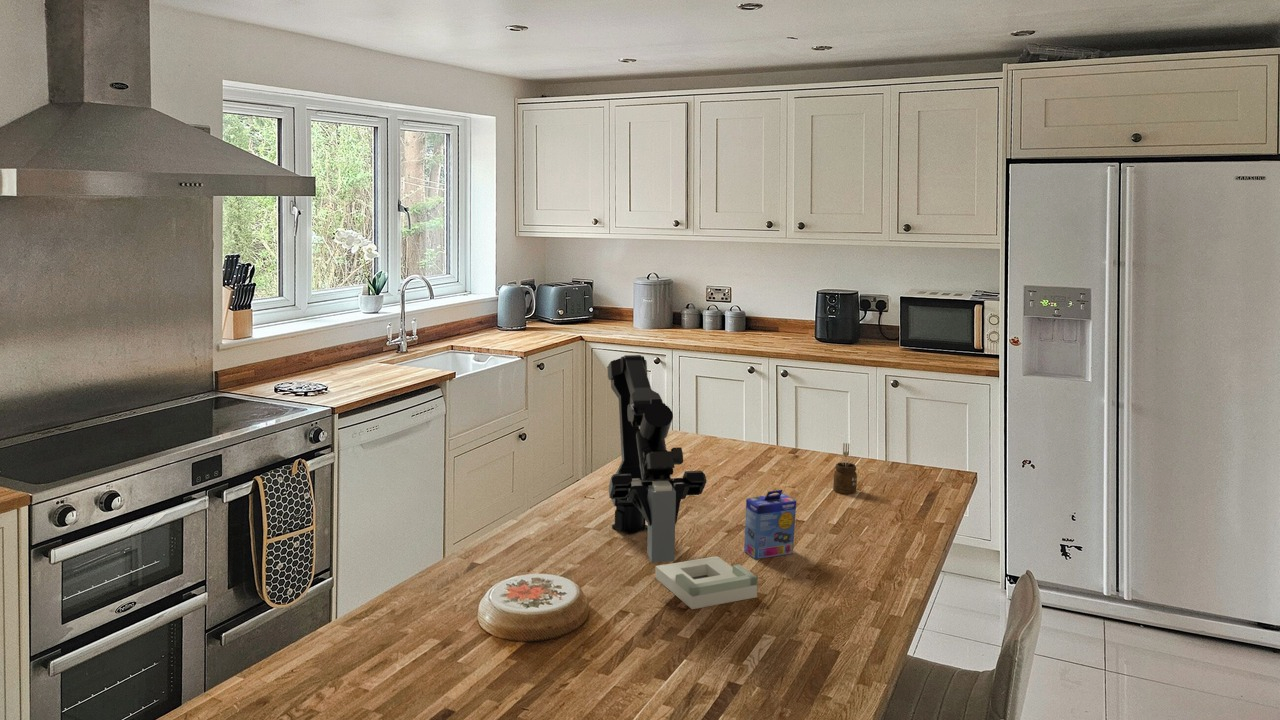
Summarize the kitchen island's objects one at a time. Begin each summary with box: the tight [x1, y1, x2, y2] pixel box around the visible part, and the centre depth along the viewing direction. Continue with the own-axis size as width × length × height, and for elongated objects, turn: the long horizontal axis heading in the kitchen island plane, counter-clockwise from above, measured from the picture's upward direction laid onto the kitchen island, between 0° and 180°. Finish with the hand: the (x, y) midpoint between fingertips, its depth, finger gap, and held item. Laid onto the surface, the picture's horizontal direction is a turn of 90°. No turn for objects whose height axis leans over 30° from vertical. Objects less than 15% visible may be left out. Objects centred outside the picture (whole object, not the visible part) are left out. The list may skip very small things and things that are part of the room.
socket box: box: [655, 555, 759, 610], centre depth 190 cm, size 16×14×4 cm
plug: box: [646, 481, 676, 563], centre depth 188 cm, size 4×4×15 cm
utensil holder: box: [833, 442, 858, 495], centre depth 252 cm, size 6×6×12 cm
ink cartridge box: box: [743, 489, 797, 560], centre depth 208 cm, size 10×6×14 cm, turn 114°
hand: (662, 524), depth 187 cm, fingers closed on plug, 4 cm apart
